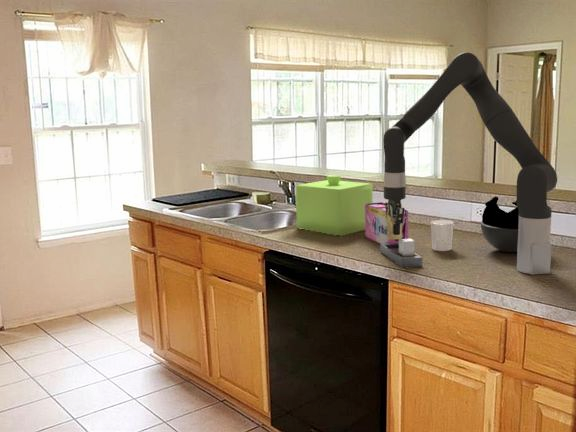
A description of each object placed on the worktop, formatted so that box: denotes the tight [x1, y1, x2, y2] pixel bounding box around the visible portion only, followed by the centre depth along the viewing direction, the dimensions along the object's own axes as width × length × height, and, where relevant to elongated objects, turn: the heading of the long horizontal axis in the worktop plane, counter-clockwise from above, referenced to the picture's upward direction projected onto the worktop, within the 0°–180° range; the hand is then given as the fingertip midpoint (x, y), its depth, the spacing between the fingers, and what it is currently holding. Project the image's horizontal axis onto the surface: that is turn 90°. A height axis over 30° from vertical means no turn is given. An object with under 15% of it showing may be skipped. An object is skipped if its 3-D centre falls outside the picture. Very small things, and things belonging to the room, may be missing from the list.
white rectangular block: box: [399, 237, 416, 257], centre depth 198 cm, size 4×4×8 cm
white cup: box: [430, 219, 454, 252], centre depth 215 cm, size 8×8×10 cm
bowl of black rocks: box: [480, 196, 519, 253], centre depth 208 cm, size 20×20×19 cm
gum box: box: [364, 201, 409, 245], centre depth 229 cm, size 24×8×14 cm, turn 17°
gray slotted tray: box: [379, 243, 423, 269], centre depth 204 cm, size 22×7×3 cm, turn 10°
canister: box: [295, 174, 374, 237], centre depth 256 cm, size 25×21×23 cm
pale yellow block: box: [387, 215, 402, 240], centre depth 208 cm, size 4×4×8 cm
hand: (394, 233), depth 209 cm, fingers closed on pale yellow block, 4 cm apart
